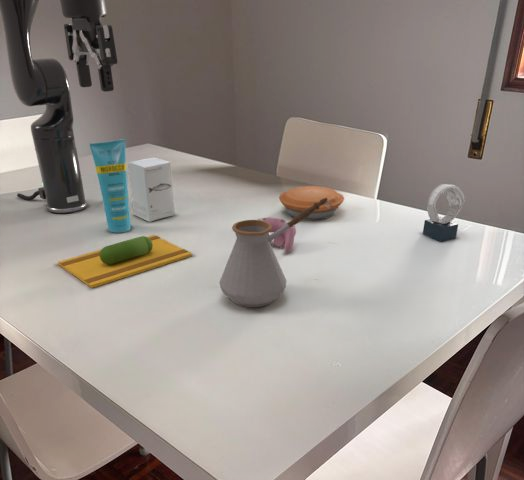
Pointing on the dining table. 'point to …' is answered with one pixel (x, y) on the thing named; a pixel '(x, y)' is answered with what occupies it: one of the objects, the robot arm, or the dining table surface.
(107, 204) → the tube
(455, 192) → the ring sculpture on base
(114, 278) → the towel
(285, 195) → the pie
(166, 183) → the white packaging box
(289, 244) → the video game controller
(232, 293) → the coffee pot
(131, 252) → the pickle
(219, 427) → the dining table surface
